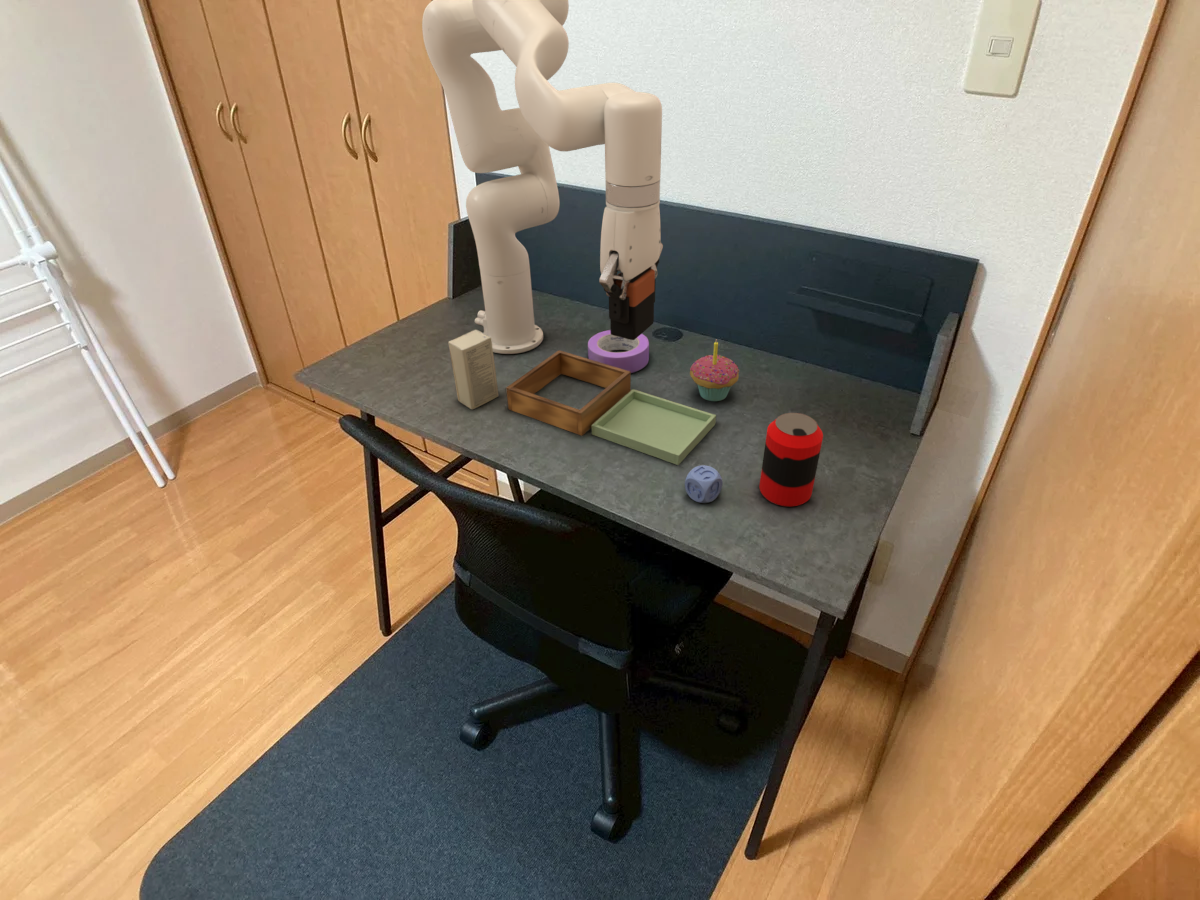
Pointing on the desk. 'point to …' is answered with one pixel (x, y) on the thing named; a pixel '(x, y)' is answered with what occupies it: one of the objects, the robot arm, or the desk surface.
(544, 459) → the desk surface
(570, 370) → the wooden frame
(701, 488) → the decorative dice
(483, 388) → the cosmetic box
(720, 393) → the cupcake
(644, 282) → the battery
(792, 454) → the soda can
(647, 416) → the tray
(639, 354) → the tape roll
